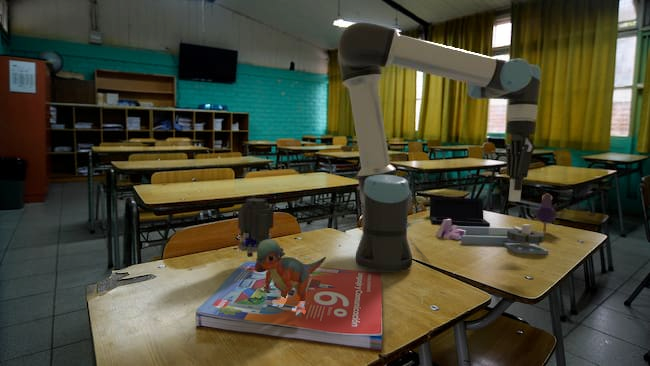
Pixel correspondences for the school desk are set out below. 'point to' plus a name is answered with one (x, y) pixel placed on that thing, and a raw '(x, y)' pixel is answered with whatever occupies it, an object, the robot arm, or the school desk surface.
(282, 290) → the toy
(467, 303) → the school desk surface
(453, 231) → the letters
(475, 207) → the black laptop
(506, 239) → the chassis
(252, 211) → the toy
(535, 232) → the wheel
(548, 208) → the toy
